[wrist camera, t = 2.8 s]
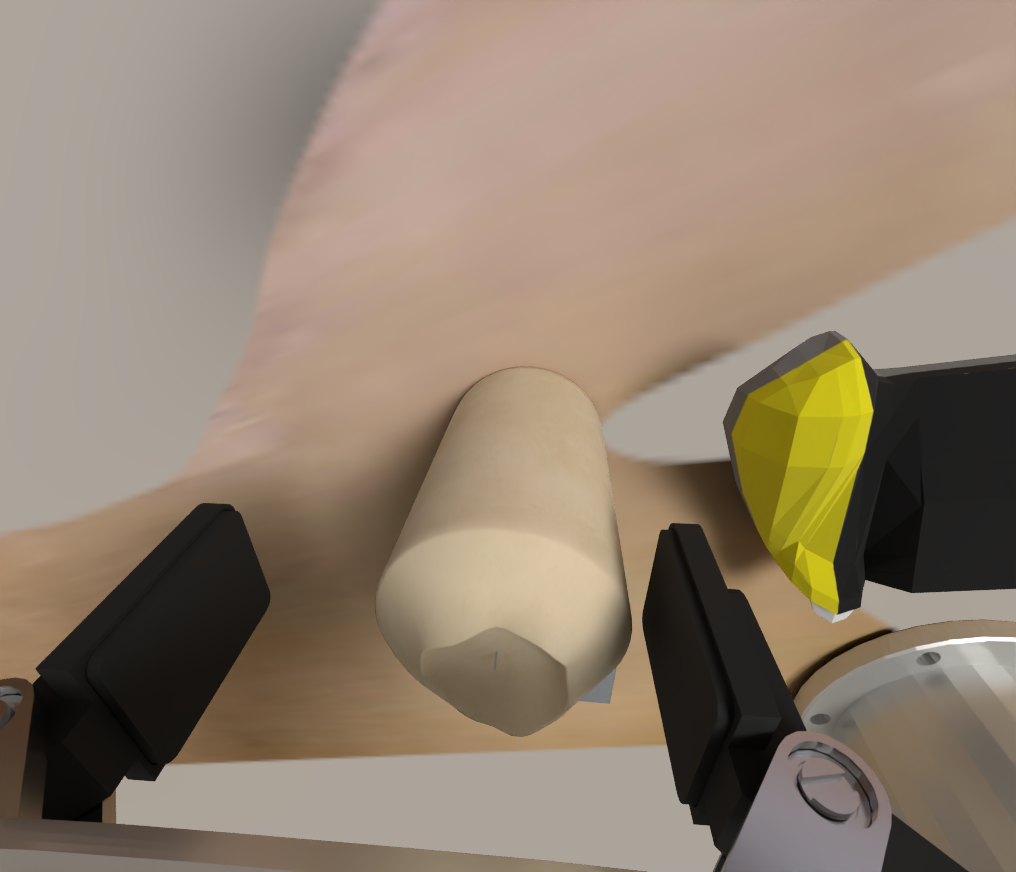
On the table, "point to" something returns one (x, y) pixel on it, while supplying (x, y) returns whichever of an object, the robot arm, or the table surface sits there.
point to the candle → (511, 558)
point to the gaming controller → (879, 472)
